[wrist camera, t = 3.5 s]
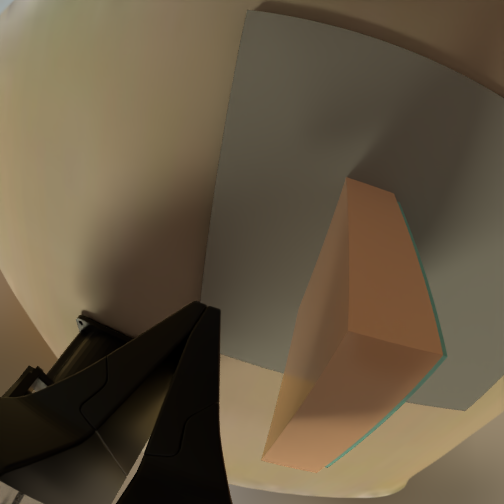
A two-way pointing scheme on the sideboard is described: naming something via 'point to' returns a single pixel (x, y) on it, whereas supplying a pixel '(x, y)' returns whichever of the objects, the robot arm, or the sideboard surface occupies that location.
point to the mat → (364, 170)
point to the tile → (355, 334)
